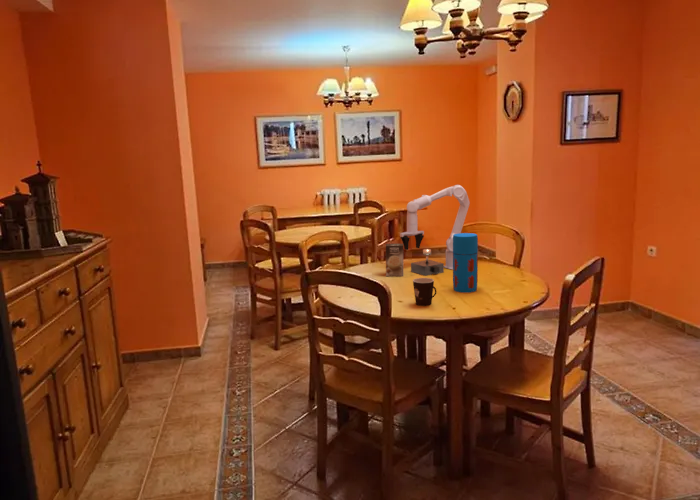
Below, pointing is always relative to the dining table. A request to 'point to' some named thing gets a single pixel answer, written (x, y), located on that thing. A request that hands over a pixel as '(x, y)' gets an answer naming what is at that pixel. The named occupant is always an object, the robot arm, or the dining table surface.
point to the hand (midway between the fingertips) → (412, 248)
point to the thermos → (465, 262)
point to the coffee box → (394, 259)
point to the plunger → (426, 252)
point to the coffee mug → (423, 291)
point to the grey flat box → (427, 267)
